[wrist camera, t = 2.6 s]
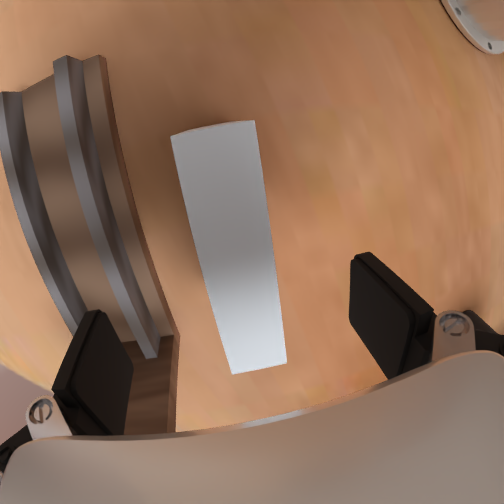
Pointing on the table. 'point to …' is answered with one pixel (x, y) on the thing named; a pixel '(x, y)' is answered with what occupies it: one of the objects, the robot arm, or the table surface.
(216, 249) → the plain gray box
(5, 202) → the table surface
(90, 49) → the table surface
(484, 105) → the table surface
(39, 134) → the wooden display stand
